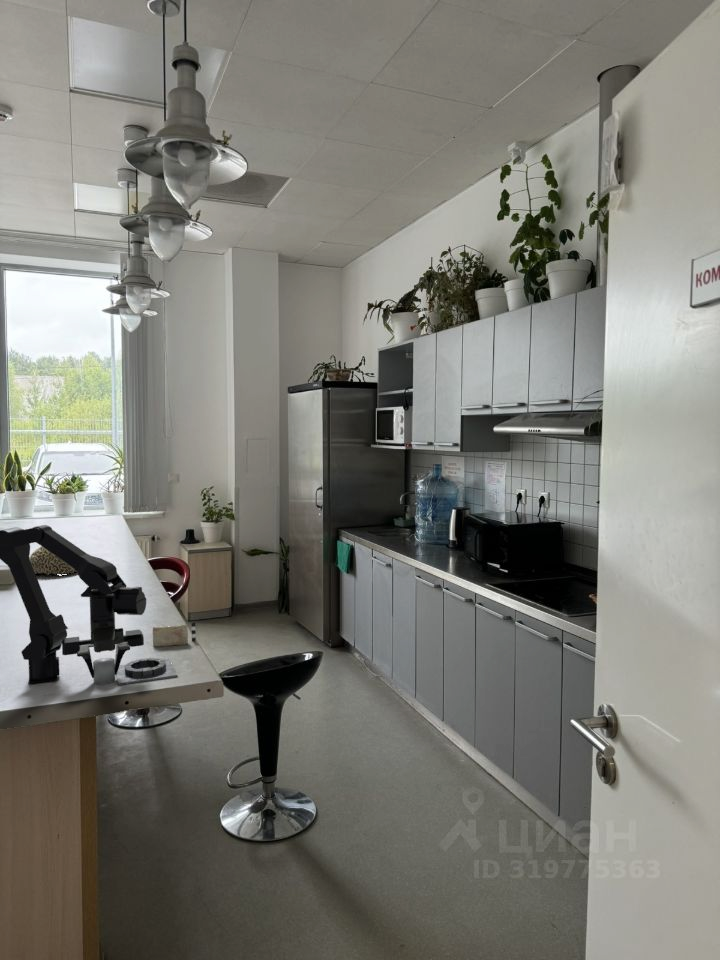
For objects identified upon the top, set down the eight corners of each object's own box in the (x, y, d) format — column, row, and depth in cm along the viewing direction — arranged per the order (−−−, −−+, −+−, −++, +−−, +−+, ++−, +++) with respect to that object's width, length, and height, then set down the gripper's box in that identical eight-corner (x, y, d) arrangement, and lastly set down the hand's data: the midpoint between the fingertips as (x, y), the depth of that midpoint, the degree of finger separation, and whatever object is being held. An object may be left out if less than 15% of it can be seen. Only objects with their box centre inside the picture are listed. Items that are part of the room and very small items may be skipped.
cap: (94, 685, 163) (93, 664, 162) (93, 679, 167) (92, 658, 167) (115, 682, 165) (115, 661, 165) (114, 676, 169) (113, 655, 169)
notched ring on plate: (118, 685, 163) (118, 677, 163) (114, 667, 176) (114, 660, 175) (177, 676, 168) (177, 669, 168) (169, 660, 181) (169, 653, 181)
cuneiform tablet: (195, 622, 199) (153, 625, 196) (195, 625, 195) (152, 627, 192) (195, 641, 199) (153, 644, 196) (195, 644, 195) (152, 648, 193)
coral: (31, 583, 290) (28, 550, 288) (27, 573, 305) (24, 542, 303) (87, 575, 301) (85, 543, 299) (81, 566, 317) (79, 535, 315)
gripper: (61, 626, 154) (63, 692, 155) (145, 617, 162) (147, 680, 162) (61, 615, 164) (63, 677, 165) (140, 607, 172) (142, 666, 173)
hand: (104, 675), depth 166 cm, fingers closed on cap, 5 cm apart
